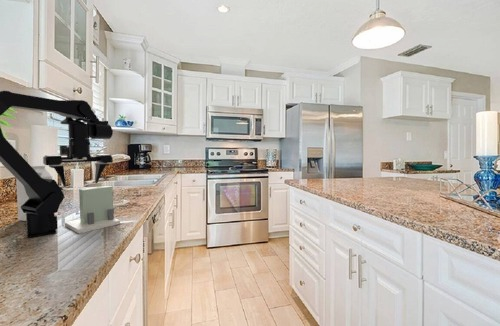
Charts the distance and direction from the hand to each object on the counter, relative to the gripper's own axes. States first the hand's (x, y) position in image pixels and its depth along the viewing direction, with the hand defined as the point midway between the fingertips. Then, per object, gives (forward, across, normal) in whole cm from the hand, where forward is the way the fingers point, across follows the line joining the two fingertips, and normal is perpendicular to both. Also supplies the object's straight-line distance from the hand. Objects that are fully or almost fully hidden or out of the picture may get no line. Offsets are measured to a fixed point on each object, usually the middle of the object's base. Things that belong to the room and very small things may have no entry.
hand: (80, 184), depth 84 cm
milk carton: (+14, +10, -16) cm, 24 cm away
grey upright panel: (+12, -3, +7) cm, 14 cm away
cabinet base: (+13, -2, +7) cm, 15 cm away
